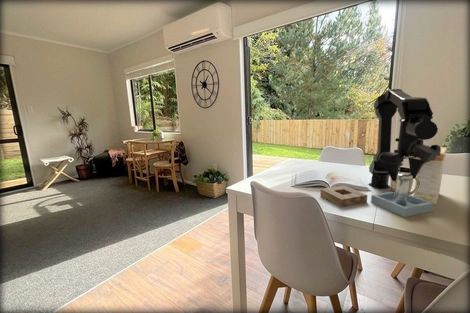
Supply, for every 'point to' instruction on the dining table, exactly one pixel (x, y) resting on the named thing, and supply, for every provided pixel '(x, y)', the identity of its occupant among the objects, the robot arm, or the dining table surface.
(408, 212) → the tray
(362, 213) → the dining table surface
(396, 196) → the clear glass cylinder
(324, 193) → the socket block
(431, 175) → the coffeecake box
